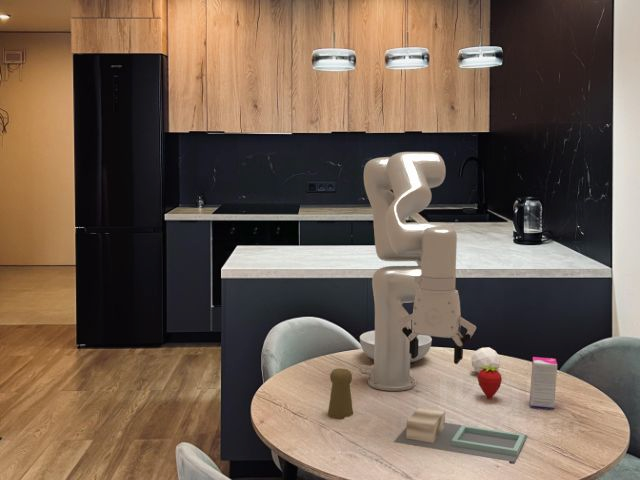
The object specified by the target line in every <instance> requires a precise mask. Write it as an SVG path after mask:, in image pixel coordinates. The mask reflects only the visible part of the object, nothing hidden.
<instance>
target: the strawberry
mask: <svg viewBox="0 0 640 480" xmlns="http://www.w3.org/2000/svg"><path fill="white" fill-rule="evenodd" d="M489 364H490V363H489ZM490 365H491V364H490ZM490 365H489V366H488V368H487V367H478V368H481V369H482V370H481V371H480V372H479V373H477V374H478V375H477V381H478V386H479V387H480V389H481V391H482V392H483V393H484V396H486V399H488V400H491V399H493V397H494V396H495V395H496V393H497V392H498V390H499V389H500V387H501V384H502V382H503V379H502V374H501V373H500V370H499V369H498V370H497V368H498V367H491V366H490Z"/></svg>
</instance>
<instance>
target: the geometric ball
mask: <svg viewBox="0 0 640 480" xmlns="http://www.w3.org/2000/svg"><path fill="white" fill-rule="evenodd" d="M489 363H490V364H491V365H490V364H489ZM489 365H490V366H491V367H498V368H497V370H499V369H500V366H501V357H500V355H499V354H498V353H497V351H496V350H494V349H493V348H491V347H481V348H478V349H477V350H475V351H474V353H473V355H472V356H471V367H472V368H473V369H474V371H475V372H476V373H477V374H478V373H479V372H480V371H481V370H482V369H481V368H478V367H487V368H488V366H489Z"/></svg>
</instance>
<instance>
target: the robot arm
mask: <svg viewBox="0 0 640 480" xmlns="http://www.w3.org/2000/svg"><path fill="white" fill-rule="evenodd" d="M446 172H447V171H446V165H445V161H444V159H443V157H442V156H441V155H440V154H439V153H437V152H434V151H403V152H402V151H401V152H397V153H395V154H393V155H391V156H386V157H385V156H383V157H376V158H373V159H372V158H371V159H370V160H369V161H367V162H366V163H365V166H364V169H363V185H364V190H365V193H366V195H367V198H368V200H369V203H370V207H371V210H372V217H373V219H372V220H373V231H374V232H373V233H374V246H375V253H376V255H377V258H378V259H379V260H381V261H383V262H416V264H417V265H390V266H388V265H386V266H383V267H380V268H379V269H377V270H376V271H374V273H373V275H372V279H371V284H372V285H371V286H372V292H373V293H372V295H373V301H374V331H375V345H374V359H373V364H371V365H367V364H360V365H359V368H358V369H359V372H360V374H361V375H362V374H363V375H369V377H368V378H367V385H368V386H370V387H371V388H373V389H377V390H381V391H387V392H401V391H408V390H410V389H414V387H415V386H416V379H415V378H414V377H413V376H411V362H410V354H411V358H412V359H414V358H416V357H417V356H418V343H419V340H418V338H417V336H418V335H426V336H430V337H436V338H445V339H446V338H448V339H451V338H452V340H453V341H454V343H455V345H454V347H453V351H454V352H453V364H455V365H458V364H459V363H460V361H461V360H463V357H464V344H465V343H466V342H468V341H469V340H470V339H471V338H472V336H473V335H474V334H475V331H476V330H477V326H476V325H475V324H473V323H471V322H470V321H468V320H466V319H465V318H463V317H462V316H461V301H460V295H459V290H457V289H456V270H457V248H458V247H457V244H458V243H457V242H458V238H457V236H458V235H457V231H456V230H455V229H454V228H452V227H450V225H448V224H447V223H444V222H438V221H437V222H435V221H434V222H432V221H431V222H425V221H423V222H417V221H416V222H406V219H407V218H409V217H411V216H413V215H416V214H418V213H420V212H422V211H424V210H425V209H426V208H427V207H428V206H429V204H430V203H431V201H432V191H431V189H433V188H436V187H440V185H441V184H443V182H444V180H445V178H446ZM391 190H392V191H391ZM404 303H406V304H407V303H413V310H412V313H411V314H410V313H409V312H408V311H407V310H406V309H405V308H404V306H403V304H404ZM461 326H462V327H463V328H465V329H466V330H467V332H466V333H465V334H464V335H462V334H461ZM412 331H413V332H412Z"/></svg>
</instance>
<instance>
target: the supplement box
mask: <svg viewBox="0 0 640 480" xmlns="http://www.w3.org/2000/svg"><path fill="white" fill-rule="evenodd" d="M531 365H532V366H531V380H530V390H529V408H531V409H542V410H555V402H556V401H555V400H556V389H557V376H558V363H557V359H556V358H551V357H541V356H540V357H538V356H533V357H532V364H531Z"/></svg>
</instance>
